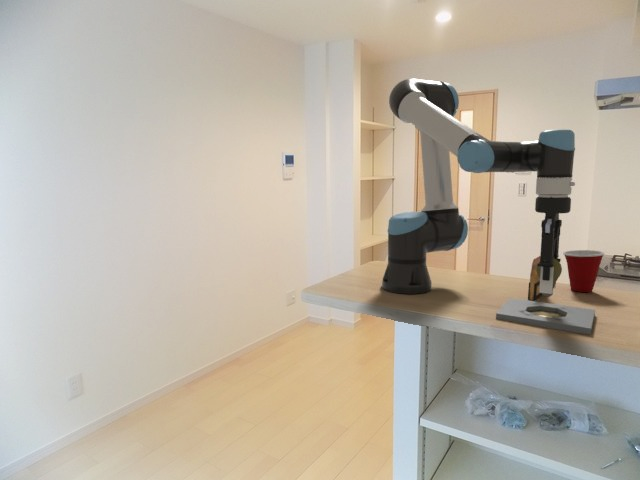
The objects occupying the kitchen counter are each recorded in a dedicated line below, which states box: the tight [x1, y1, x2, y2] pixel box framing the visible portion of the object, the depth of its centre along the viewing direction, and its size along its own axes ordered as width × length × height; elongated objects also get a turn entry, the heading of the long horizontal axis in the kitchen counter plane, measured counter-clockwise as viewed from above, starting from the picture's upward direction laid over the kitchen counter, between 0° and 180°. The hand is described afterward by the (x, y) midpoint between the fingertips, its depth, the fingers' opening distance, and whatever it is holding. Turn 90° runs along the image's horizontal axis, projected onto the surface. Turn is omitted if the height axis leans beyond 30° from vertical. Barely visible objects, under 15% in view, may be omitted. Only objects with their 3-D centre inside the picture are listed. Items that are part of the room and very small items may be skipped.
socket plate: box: [495, 297, 596, 336], centre depth 109 cm, size 20×16×2 cm
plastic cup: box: [562, 249, 605, 293], centre depth 132 cm, size 11×11×12 cm
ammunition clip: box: [527, 255, 544, 302], centre depth 126 cm, size 11×2×12 cm, turn 139°
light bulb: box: [536, 258, 563, 298], centre depth 107 cm, size 6×6×10 cm
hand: (547, 289), depth 108 cm, fingers closed on light bulb, 5 cm apart
